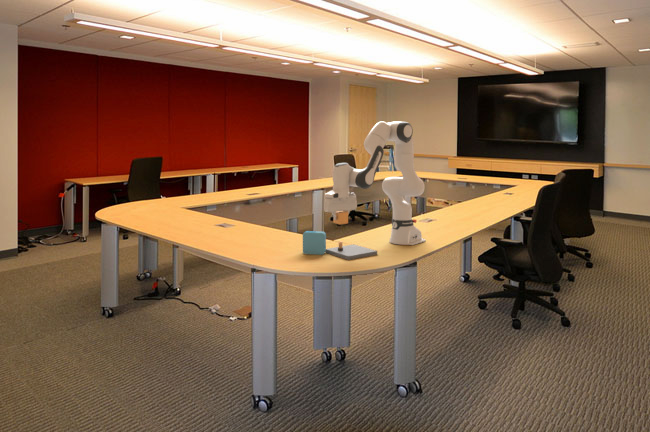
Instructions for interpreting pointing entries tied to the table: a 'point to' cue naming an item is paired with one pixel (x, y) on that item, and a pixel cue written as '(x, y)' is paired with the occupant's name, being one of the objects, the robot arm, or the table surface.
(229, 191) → the table surface
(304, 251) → the data package
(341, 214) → the orange cube
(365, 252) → the board
